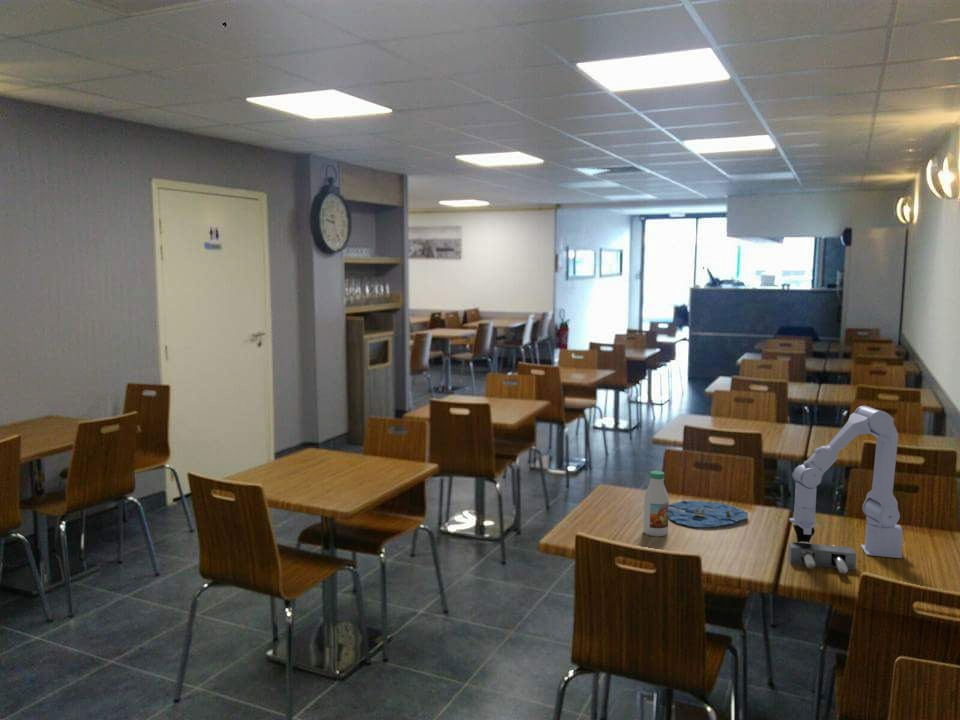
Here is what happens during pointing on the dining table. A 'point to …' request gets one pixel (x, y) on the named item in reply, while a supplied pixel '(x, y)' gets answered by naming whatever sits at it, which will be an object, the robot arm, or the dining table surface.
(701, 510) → the decorative plate
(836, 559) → the pin
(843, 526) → the dining table surface
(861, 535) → the dining table surface
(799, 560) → the block
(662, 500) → the milk bottle
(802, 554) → the pin
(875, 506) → the robot arm
